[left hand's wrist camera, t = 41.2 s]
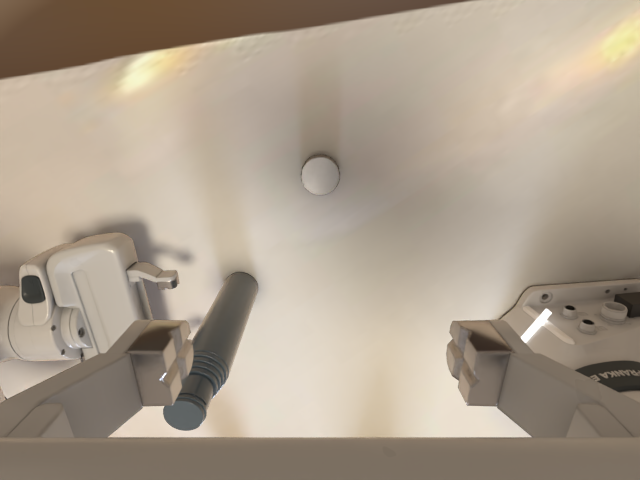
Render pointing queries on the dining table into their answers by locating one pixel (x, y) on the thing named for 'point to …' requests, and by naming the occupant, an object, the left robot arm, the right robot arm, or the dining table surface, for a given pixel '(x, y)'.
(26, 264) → the right robot arm
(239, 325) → the bottle
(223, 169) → the dining table surface
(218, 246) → the dining table surface
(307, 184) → the cap
